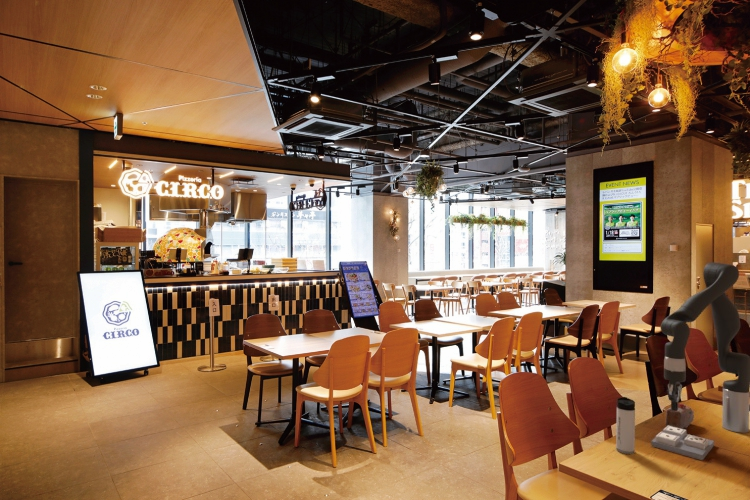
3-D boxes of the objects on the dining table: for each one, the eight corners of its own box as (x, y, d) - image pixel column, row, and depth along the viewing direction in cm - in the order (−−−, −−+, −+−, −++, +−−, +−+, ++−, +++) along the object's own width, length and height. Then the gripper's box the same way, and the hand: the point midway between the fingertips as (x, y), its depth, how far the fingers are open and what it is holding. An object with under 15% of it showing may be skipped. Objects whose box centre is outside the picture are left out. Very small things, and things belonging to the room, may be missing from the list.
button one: (662, 437, 189) (662, 432, 189) (676, 441, 186) (676, 435, 186) (658, 440, 186) (658, 435, 186) (673, 444, 182) (673, 439, 182)
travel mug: (632, 448, 183) (633, 397, 183) (636, 455, 177) (636, 402, 177) (614, 446, 185) (615, 395, 185) (617, 453, 179) (618, 401, 179)
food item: (674, 419, 215) (675, 398, 215) (694, 424, 209) (695, 402, 209) (663, 426, 207) (664, 404, 207) (684, 432, 201) (684, 409, 201)
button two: (669, 431, 196) (669, 425, 196) (683, 434, 193) (683, 429, 192) (665, 434, 193) (666, 428, 193) (680, 437, 189) (680, 432, 189)
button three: (690, 440, 187) (690, 435, 187) (705, 444, 183) (705, 438, 183) (686, 444, 183) (687, 438, 183) (702, 448, 179) (702, 442, 179)
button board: (665, 433, 199) (665, 423, 199) (713, 445, 187) (714, 435, 187) (651, 446, 186) (651, 436, 186) (702, 460, 174) (702, 449, 174)
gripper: (669, 363, 200) (669, 403, 200) (659, 369, 191) (659, 411, 191) (689, 366, 194) (689, 408, 195) (680, 373, 185) (680, 416, 186)
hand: (674, 409), depth 193 cm, fingers closed
